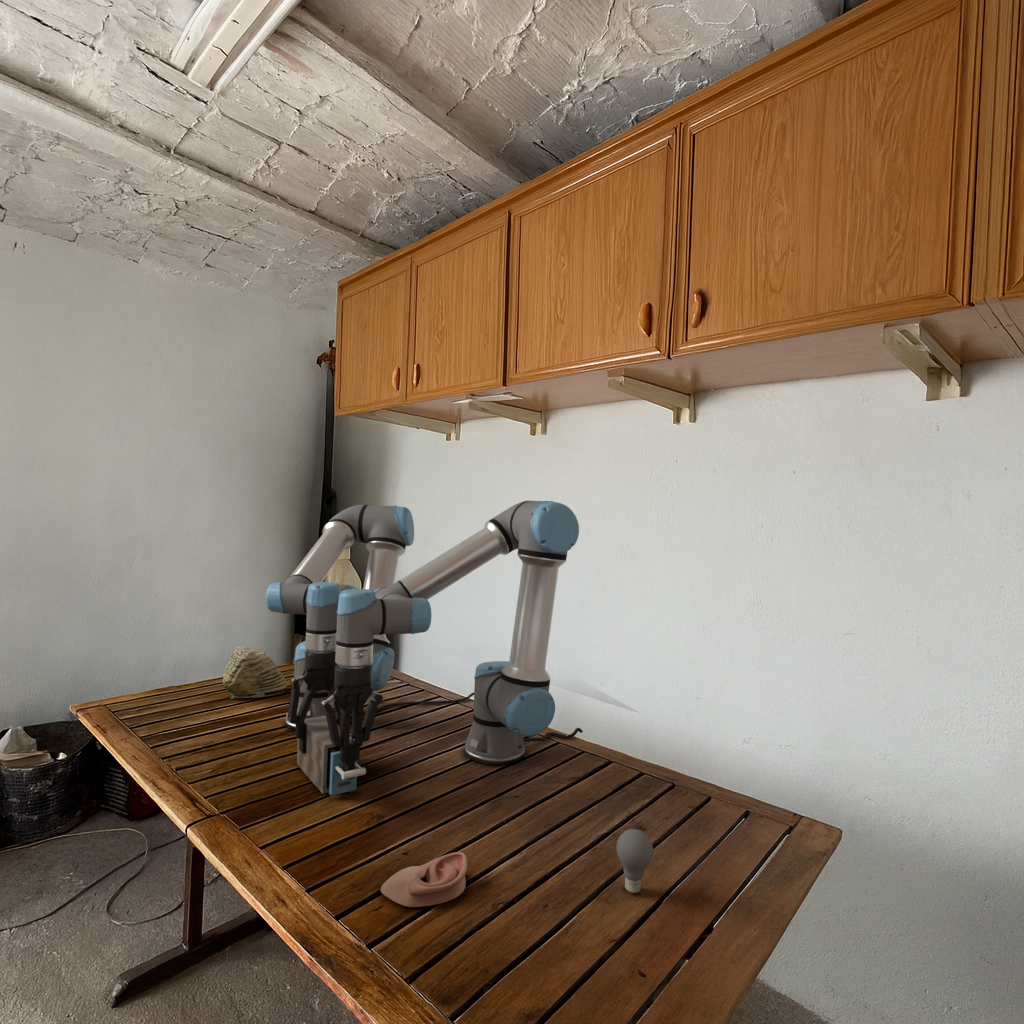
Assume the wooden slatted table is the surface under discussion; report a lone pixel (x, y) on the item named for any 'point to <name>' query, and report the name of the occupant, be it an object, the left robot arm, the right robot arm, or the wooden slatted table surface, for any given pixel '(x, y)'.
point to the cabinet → (316, 752)
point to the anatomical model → (428, 882)
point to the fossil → (252, 674)
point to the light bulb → (634, 857)
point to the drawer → (341, 773)
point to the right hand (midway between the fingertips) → (348, 776)
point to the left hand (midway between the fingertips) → (318, 747)
